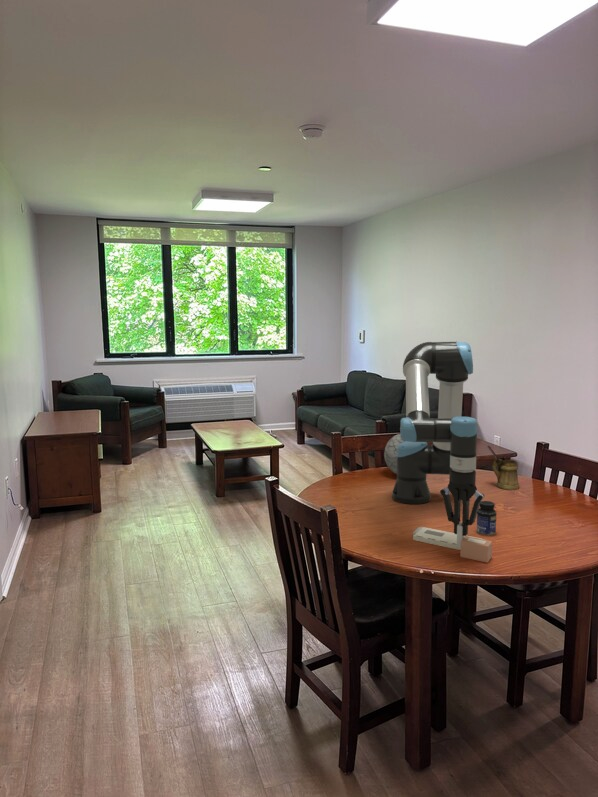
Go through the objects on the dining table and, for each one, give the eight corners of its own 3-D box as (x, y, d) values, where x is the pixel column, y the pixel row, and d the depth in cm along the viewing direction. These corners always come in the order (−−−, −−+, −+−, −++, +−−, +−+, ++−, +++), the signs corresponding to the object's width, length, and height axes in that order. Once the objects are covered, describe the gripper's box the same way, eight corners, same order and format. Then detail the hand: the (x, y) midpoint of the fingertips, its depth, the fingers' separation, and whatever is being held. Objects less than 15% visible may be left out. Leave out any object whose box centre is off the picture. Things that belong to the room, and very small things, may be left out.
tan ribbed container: (484, 483, 247) (485, 443, 245) (516, 484, 245) (518, 443, 243) (487, 489, 238) (489, 447, 236) (521, 490, 236) (523, 448, 234)
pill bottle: (493, 539, 185) (494, 507, 183) (474, 536, 188) (475, 504, 186) (497, 533, 190) (498, 501, 188) (479, 530, 193) (480, 498, 192)
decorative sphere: (376, 472, 266) (376, 431, 263) (412, 468, 273) (412, 427, 271) (398, 483, 248) (399, 439, 245) (436, 478, 255) (437, 435, 252)
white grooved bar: (413, 540, 183) (413, 535, 183) (423, 531, 190) (423, 526, 190) (475, 553, 172) (475, 548, 172) (483, 543, 180) (483, 538, 179)
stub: (460, 556, 170) (460, 540, 169) (465, 551, 173) (465, 535, 173) (487, 562, 165) (488, 546, 165) (491, 557, 169) (492, 541, 168)
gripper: (437, 469, 169) (435, 544, 172) (481, 475, 161) (478, 553, 165) (445, 463, 175) (443, 536, 178) (488, 469, 168) (485, 545, 171)
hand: (460, 544), depth 171 cm, fingers closed
